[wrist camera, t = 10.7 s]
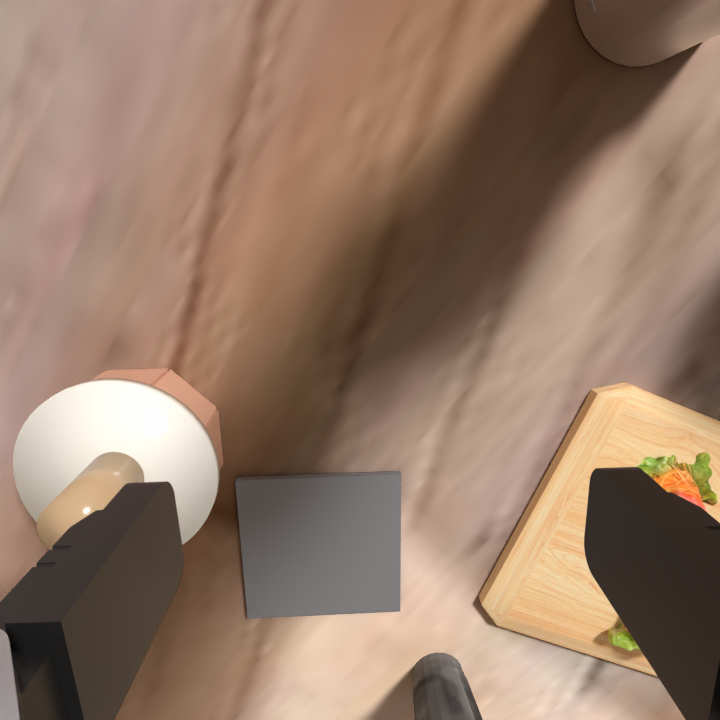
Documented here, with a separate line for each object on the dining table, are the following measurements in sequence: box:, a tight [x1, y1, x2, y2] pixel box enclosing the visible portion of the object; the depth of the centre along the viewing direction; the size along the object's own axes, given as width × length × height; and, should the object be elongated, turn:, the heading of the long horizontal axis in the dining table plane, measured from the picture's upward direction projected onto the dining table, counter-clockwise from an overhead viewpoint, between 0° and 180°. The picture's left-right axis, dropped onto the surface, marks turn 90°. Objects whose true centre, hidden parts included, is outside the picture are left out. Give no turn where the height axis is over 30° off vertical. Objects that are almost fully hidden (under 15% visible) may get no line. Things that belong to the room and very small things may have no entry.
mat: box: [235, 471, 401, 619], centre depth 42 cm, size 13×13×1 cm
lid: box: [13, 378, 220, 550], centre depth 31 cm, size 13×13×7 cm
